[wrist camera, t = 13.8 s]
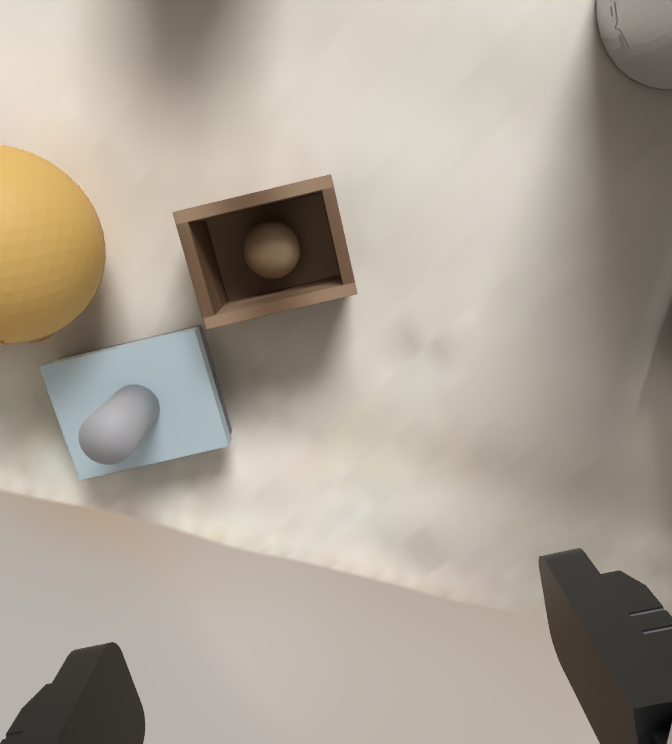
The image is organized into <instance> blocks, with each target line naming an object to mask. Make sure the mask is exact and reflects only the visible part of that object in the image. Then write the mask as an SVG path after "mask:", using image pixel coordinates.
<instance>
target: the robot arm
mask: <svg viewBox="0 0 672 744" xmlns="http://www.w3.org/2000/svg"><path fill="white" fill-rule="evenodd" d="M596 3H597V23H598V27H599V32H600V37H601V39H602V42H603V44H604V46H605V48H606V51H607V53H608V55H609V56H610V57H611V59H612V60H613V61H614V63H615V64H616V66H617V67H618V68H619V69H620V70H621V71H623V72H624V73H625V74H626V75H627V76H629V77H630V78H631V79H633V80H635V81H637V82H639V83H641V84H643V85H645V86H650V87H654V88H659V89H672V0H596ZM539 569H540V575H541V581H542V587H543V593H544V599H545V606H546V612H547V618H548V624H549V629H550V634H551V638H552V641H553V645H554V648H555V651H556V653H557V657H558V659H559V662H560V664H561V666H562V668H563V670H564V672H565V674H566V676H567V678H568V680H569V682H570V684H571V686H572V688H573V690H574V692H575V694H576V696H577V698H578V700H579V702H580V704H581V706H582V708H583V710H584V712H585V714H586V716H587V718H588V720H589V722H590V724H591V726H592V728H593V731H594V732H595V734H596V736H597V739H598V740H599V742H600V744H672V617H671V615H670V614H669V613H668V612H667V611H665V610H664V608H663V606H662V605H661V603H660V602H659V601H658V600H657V598H656V597H655V596H654V595H653V594H652V592H651V591H650V590H649V589H648V588H647V586H646V585H644V584H642V583H641V582H639V581H637V580H635V579H634V578H632V577H630V576H628V575H627V574H625V573H623V572H621V571H620V570H619V571H614V572H609V573H604V574H600V573H599V572H598V570H597V569H596V567H595V566H594V565H593V563H592V562H591V560H590V559H589V558H588V556H587V555H586V554H585V552H584V551H583V550H582V549H580V548H578V549H573V550H568V551H564V552H559V553H554V554H549V555H544V556H540V557H539ZM144 735H145V717H144V711H143V707H142V704H141V702H140V698H139V696H138V693H137V691H136V688H135V685H134V683H133V680H132V677H131V675H130V672H129V669H128V667H127V664H126V662H125V659H124V656H123V653H122V651H121V649H120V647H119V646H118V645H117V644H116V643H113V642H111V643H106V644H102V645H96V646H92V647H86V648H82V649H77V650H74V651H72V652H71V653H70V654H69V655H68V657H67V658H66V660H65V662H64V664H63V666H62V667H61V669H60V670H59V672H58V674H57V675H56V677H55V679H54V680H53V682H52V683H51V684H46V685H45V686H44V687H43V688H42V689H41V690H40V691H39V692H38V693H37V694H36V695H35V696H34V697H33V698H32V699H31V700H30V701H29V702H28V703H27V704H26V705H25V706H24V707H23V708H22V709H21V711H20V712H19V714H18V716H17V717H16V719H15V720H14V722H13V724H12V725H11V727H10V728H9V730H8V732H7V733H6V739H3V740H2V741H1V743H0V744H143V741H144Z"/></svg>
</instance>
